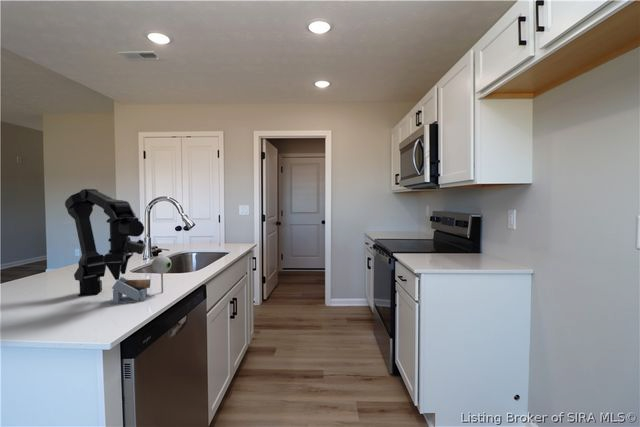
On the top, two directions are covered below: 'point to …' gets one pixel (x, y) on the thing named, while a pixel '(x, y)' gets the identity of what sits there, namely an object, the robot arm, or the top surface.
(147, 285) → the peg
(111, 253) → the robot arm
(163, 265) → the lollipop
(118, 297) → the cradle
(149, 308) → the top surface
